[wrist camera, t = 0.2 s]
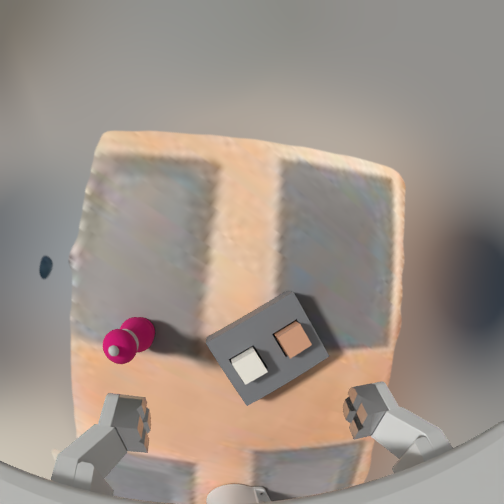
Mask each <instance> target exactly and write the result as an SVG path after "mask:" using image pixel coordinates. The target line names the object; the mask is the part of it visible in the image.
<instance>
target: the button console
mask: <svg viewBox="0 0 504 504" xmlns="http://www.w3.org/2000/svg"><path fill="white" fill-rule="evenodd" d="M293 321H296V322H298V323H299V324H300V325H301V326H302V328H303V330H304V332H305V333H306V335H307V337H308V339H309V340H310V342H311V344H312V345H311V346H310V347H308V348H306V349H305V350H303V351H302V352H300V353H298V354H297V355H295V356H294V357H292V358H289V357H288V356H287V355H286V354H285V352H284V351H283V349H282V347H281V346H280V344H279V342H278V341H277V339H276V337H275V336H274V334H273V333H275V332H277V331H278V330H280V329H281V328H283V327H285V326H286V325H288V324H290V323H291V322H293ZM206 344H207V346H208V348H209V349H210V351H211V352H212V354H213V355H214V357H215V359H216V360H217V362H218V363H219V365H220V366H221V368H222V369H223V371H224V372H225V374H226V376H227V377H228V379H229V380H230V382H231V383H232V385H233V386H234V388H235V389H236V390H237V392H238V393H239V395H240V396H241V398H242V399H243V401H244V402H245V404H246V405H247V406H248V405H249V404H251V403H253V402H255V401H257V400H259V399H260V398H262V397H264V396H266V395H267V394H269V393H271V392H273V391H274V390H276V389H278V388H280V387H281V386H283V385H285V384H286V383H288V382H290V381H291V380H293V379H295V378H296V377H298V376H299V375H301V374H303V373H304V372H306V371H307V370H309V369H311V368H312V367H314V366H315V365H317V364H318V363H320V362H321V361H323V360H324V359H326V358H327V357H329V355H328V353H327V351H326V349H325V347H324V346H323V344H322V342H321V340H320V338H319V337H318V335H317V333H316V331H315V329H314V328H313V326H312V324H311V322H310V321H309V319H308V317H307V315H306V313H305V312H304V310H303V308H302V306H301V305H300V303H299V301H298V299H297V297H296V296H295V294H294V292H291V291H285V292H284V293H282V294H280V295H279V296H277V297H275V298H274V299H272V300H270V301H269V302H267V303H265V304H264V305H262V306H260V307H259V308H257V309H255V310H254V311H252V312H250V313H248V314H247V315H245V316H243V317H242V318H240V319H238V320H236V321H235V322H233V323H231V324H229V325H228V326H226V327H224V328H222V329H221V330H219V331H217V332H215V333H214V334H212V335H210V336H208V337H207V339H206ZM251 346H252V347H253V348H254V350H255V351H256V353H257V355H258V356H259V358H260V359H261V361H262V363H263V364H264V366H265V368H266V369H267V371H268V372H267V373H265V374H264V375H262V376H260V377H258V378H257V379H255V380H253V381H251V382H250V383H248V384H246V385H245V383H244V382H243V380H242V379H241V377H240V376H239V374H238V373H237V371H236V370H235V368H234V367H233V365H232V362H231V358H232V357H234V356H235V355H237V354H239V353H241V352H243V351H244V350H246V349H248V348H249V347H251Z"/></svg>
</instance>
